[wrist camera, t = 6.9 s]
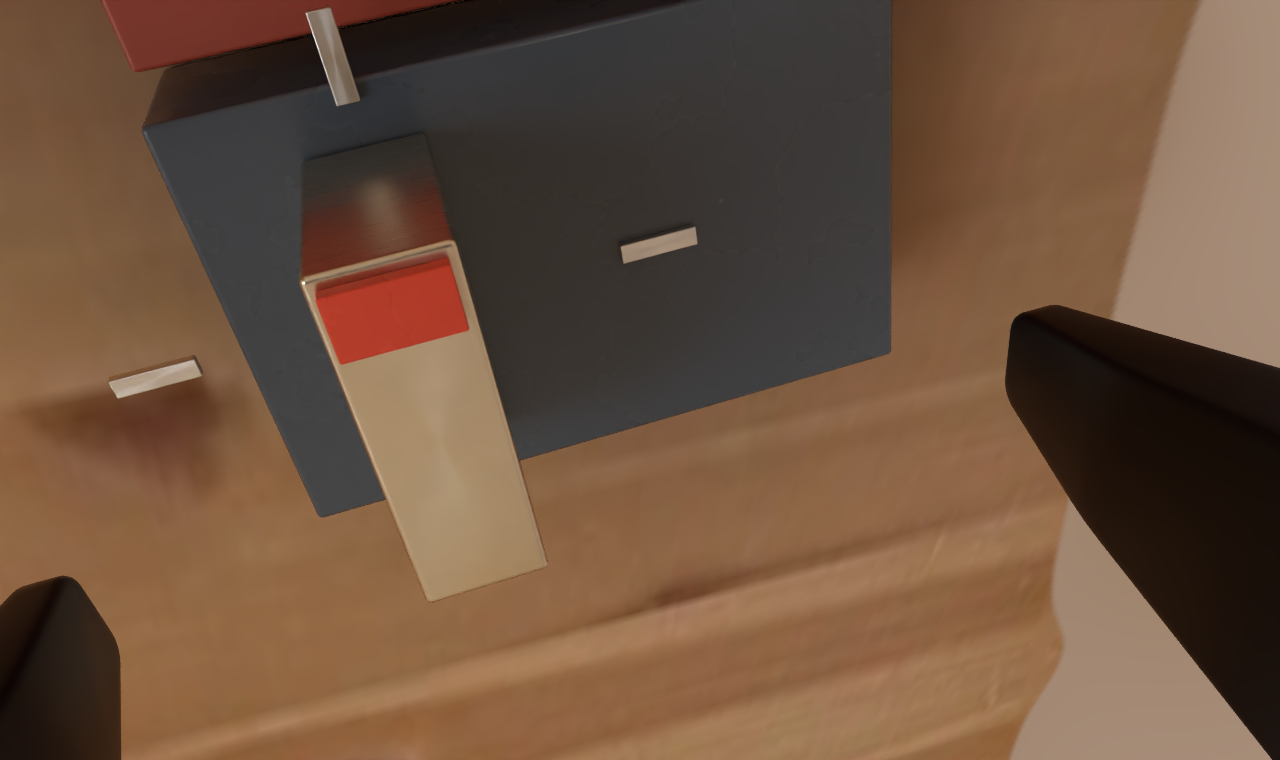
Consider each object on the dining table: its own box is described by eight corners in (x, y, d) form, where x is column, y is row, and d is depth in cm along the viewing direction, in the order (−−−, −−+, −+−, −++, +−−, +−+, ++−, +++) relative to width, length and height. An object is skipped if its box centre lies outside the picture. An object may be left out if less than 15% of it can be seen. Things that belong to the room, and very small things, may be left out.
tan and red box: (509, 425, 19) (552, 579, 16) (407, 454, 19) (428, 618, 16) (425, 129, 16) (458, 247, 12) (297, 160, 16) (296, 289, 12)
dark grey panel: (239, 495, 22) (230, 598, 20) (-1, 31, 16) (-56, 93, 14) (834, 326, 24) (896, 400, 22) (816, -145, 18) (899, -119, 16)
